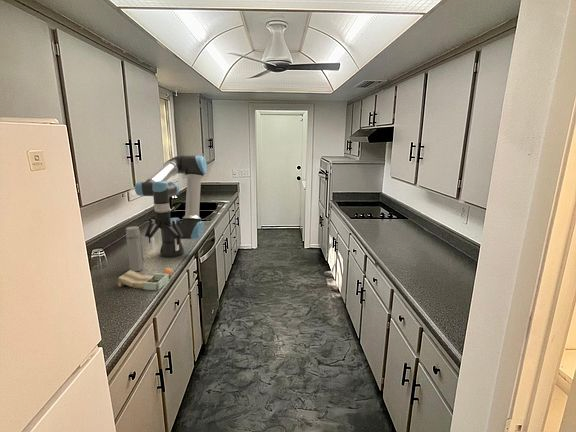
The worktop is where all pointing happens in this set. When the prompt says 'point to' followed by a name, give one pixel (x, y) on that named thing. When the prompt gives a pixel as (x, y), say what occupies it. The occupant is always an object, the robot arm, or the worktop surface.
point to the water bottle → (134, 248)
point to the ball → (167, 271)
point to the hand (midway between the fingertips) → (165, 249)
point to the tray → (156, 286)
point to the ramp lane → (134, 279)
